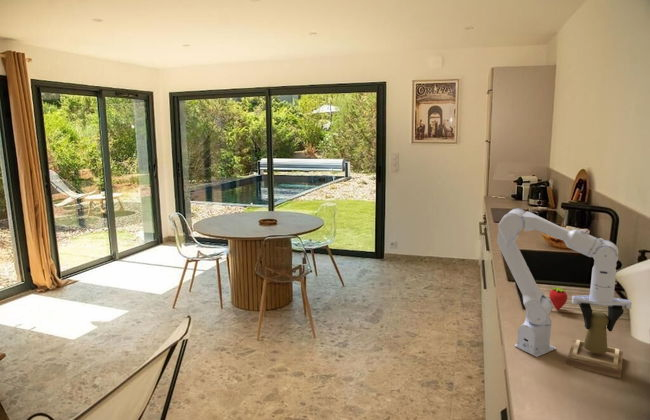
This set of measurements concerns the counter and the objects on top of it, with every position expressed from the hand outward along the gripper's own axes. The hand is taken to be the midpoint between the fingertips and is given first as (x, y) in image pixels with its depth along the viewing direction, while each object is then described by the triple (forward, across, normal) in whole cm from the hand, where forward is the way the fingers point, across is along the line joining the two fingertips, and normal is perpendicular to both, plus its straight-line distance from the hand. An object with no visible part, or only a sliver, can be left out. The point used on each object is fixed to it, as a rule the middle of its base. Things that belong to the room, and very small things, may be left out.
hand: (598, 328), depth 127 cm
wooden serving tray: (+10, 0, 0) cm, 10 cm away
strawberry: (+10, +2, -38) cm, 39 cm away
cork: (+7, 0, -1) cm, 7 cm away
